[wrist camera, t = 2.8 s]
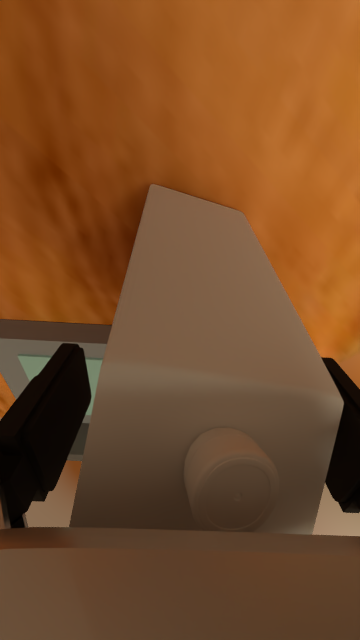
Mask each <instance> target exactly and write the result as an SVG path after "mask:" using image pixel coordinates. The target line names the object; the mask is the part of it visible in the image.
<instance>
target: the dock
mask: <svg viewBox="0 0 360 640" xmlns="http://www.w3.org/2000/svg"><path fill="white" fill-rule="evenodd" d="M111 328H112V325H96V324H78V323H60V322H41V321H23V320H5V319H0V372H1V374H2V376H3V377H4V379H5V381H6V383H7V384H8V386H9V388H10V389H11V391H12V393H13V395H14V396H15V398H16V399H17V398H18V397H19V395H20V394H21V393H22V392H23V390H24V389H25V388H26V386H27V385H28V384H29V382H30V381H31V380H32V379H33V378H34V377H35V376H37V375H38V374H39V373H40V372H41V370H42V369H43V368H44V366H45V365H46V364H47V362H48V361H49V360H50V358H51V357H52V356H53V354H54V353H55V352H56V350H57V349H58V348H59V346H60V345H61V344H62V343H72V344H78V345H79V347H80V348H83V349H84V354H85V360H86V365H87V371H88V377H89V383H90V389H91V395H92V396H91V402H90V405H89V407H88V410H87V412H86V415H85V417H84V419H83V422H82V424H81V427H80V429H79V431H78V434H77V436H76V439H75V441H74V443H73V446H72V448H71V451H70V453H69V455H68V458H67V460H72V461H82V459H83V454H84V449H85V444H86V439H87V434H88V429H89V424H90V419H91V414H92V409H93V404H94V398H95V393H96V388H97V383H98V378H99V373H100V368H101V365H102V361H103V357H104V354H105V350H106V346H107V343H108V339H109V335H110V331H111Z"/></svg>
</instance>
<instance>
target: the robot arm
mask: <svg viewBox="0 0 360 640" xmlns="http://www.w3.org/2000/svg"><path fill="white" fill-rule="evenodd" d="M321 358H322V357H321ZM322 360H323V362H324V364H325V366H326V368H327V370H328V372H329V374H330V376H331V377H332V379H333V381H334V383H335V385H336V387H337V389H338V391H339V393H340V395H341V397H342V399H343V401H344V405H343V410H342V415H341V419H340V423H339V427H338V431H337V435H336V439H335V443H334V447H333V451H332V455H331V459H330V463H329V468H328V472H327V476H326V480H325V483H326V485H327V487H328V489H329V491H330V493H331V495H332V497H333V498H334V499H335V501H337V502H339V505H340V507H341V509H342V511H343V512H346V513H359V512H360V389H359V388H358V387H357V386H356V385H355V383H354V382H353V381H352V380H351V379H350V378H349V377H348V375H347V374H346V373H345V372H344V371H343V370H342V369H341V367H340V366H339V365H338V364H337V363H336V362H335V360H333V359H332V358H322ZM91 396H92V395H91V389H90V383H89V377H88V371H87V365H86V360H85V354H84V349H83V348H80V347H79V345H78V344H72V343H62V344H61V345H60V346H59V348H58V349H57V350H56V352H55V353H54V354H53V356H52V357H51V358H50V360H49V361H48V362H47V364H46V365H45V366H44V368H43V369H42V370H41V372H40V373H39V374H38V375H37V376H35V377H34V378H33V379H32V380H31V381H30V382H29V384H28V385H27V386H26V388H25V389H24V390H23V392H22V393H21V394H20V395H19V397H18V398H17V399H16V401H15V402H14V403H13V405H12V406H11V407H10V409H9V410H8V411H7V412H6V414H5V415H4V416H3V418H2V419H1V421H0V640H360V537H359V536H333V535H332V536H331V535H307V534H282V533H253V532H223V531H193V530H159V529H124V528H78V527H29V528H28V524H27V520H26V515H25V512H27V511H28V509H29V506H30V504H31V502H32V501H45V499H46V496H47V494H48V492H49V491H52V490H54V488H55V486H56V484H57V482H58V480H59V477H60V475H61V472H62V470H63V467H64V465H65V463H66V460H67V458H68V455H69V453H70V451H71V448H72V446H73V443H74V441H75V439H76V436H77V434H78V431H79V429H80V427H81V424H82V422H83V419H84V417H85V415H86V412H87V410H88V407H89V405H90V402H91Z"/></svg>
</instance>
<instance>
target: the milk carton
mask: <svg viewBox="0 0 360 640" xmlns="http://www.w3.org/2000/svg"><path fill="white" fill-rule="evenodd" d="M343 405H344V401H343V399H342V397H341V395H340V393H339V391H338V389H337V387H336V385H335V383H334V381H333V379H332V377H331V376H330V374H329V372H328V370H327V368H326V366H325V364H324V362H323V360H322V358H321V357H320V355H319V353H318V351H317V349H316V347H315V345H314V344H313V342H312V340H311V338H310V336H309V334H308V332H307V331H306V329H305V327H304V325H303V323H302V321H301V319H300V317H299V316H298V314H297V312H296V310H295V308H294V306H293V304H292V303H291V301H290V299H289V297H288V295H287V293H286V291H285V290H284V288H283V286H282V284H281V282H280V280H279V278H278V276H277V275H276V273H275V271H274V269H273V267H272V265H271V263H270V262H269V260H268V258H267V256H266V254H265V252H264V250H263V249H262V247H261V245H260V243H259V241H258V239H257V237H256V236H255V234H254V232H253V230H252V228H251V226H250V224H249V222H248V221H247V219H246V217H245V215H244V213H242V212H240V211H238V210H235V209H232V208H229V207H225V206H222V205H219V204H216V203H213V202H210V201H207V200H203V199H200V198H197V197H194V196H191V195H188V194H184V193H181V192H178V191H175V190H172V189H169V188H166V187H162V186H159V185H156V184H151V185H150V187H149V191H148V195H147V198H146V202H145V206H144V209H143V213H142V217H141V221H140V224H139V228H138V232H137V235H136V239H135V243H134V246H133V250H132V254H131V258H130V261H129V265H128V269H127V272H126V276H125V280H124V283H123V287H122V291H121V294H120V298H119V302H118V306H117V309H116V313H115V317H114V320H113V324H112V328H111V331H110V335H109V339H108V343H107V346H106V350H105V354H104V357H103V361H102V365H101V368H100V373H99V378H98V383H97V388H96V393H95V398H94V404H93V409H92V414H91V419H90V424H89V429H88V434H87V439H86V444H85V449H84V454H83V459H82V464H81V469H80V475H79V480H78V485H77V490H76V495H75V500H74V506H73V510H72V515H71V521H70V525H69V527H78V528H124V529H159V530H193V531H223V532H253V533H282V534H307V535H312V532H313V528H314V524H315V520H316V516H317V512H318V508H319V504H320V500H321V496H322V492H323V488H324V484H325V480H326V476H327V472H328V468H329V463H330V459H331V455H332V451H333V447H334V443H335V439H336V435H337V431H338V427H339V423H340V419H341V415H342V410H343Z"/></svg>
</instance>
